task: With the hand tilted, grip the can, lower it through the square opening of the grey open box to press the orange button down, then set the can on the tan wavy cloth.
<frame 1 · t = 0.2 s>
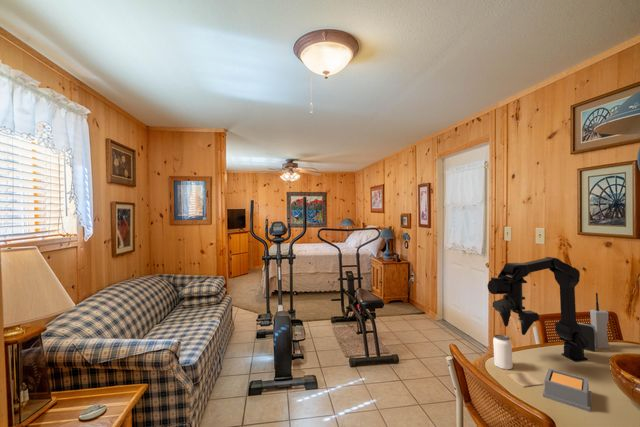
hand: (514, 330, 121), 14 cm above the table, tool pointing down, fingers open, 9 cm apart
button: (566, 384, 99), point 4 cm above the table, slide at 0.0 cm
battery: (586, 348, 132), on the table
vintage mobile phone: (601, 347, 133), on the table
can: (503, 366, 120), on the table
tan wavy cloth: (524, 379, 109), on the table
grey open box: (567, 395, 99), on the table
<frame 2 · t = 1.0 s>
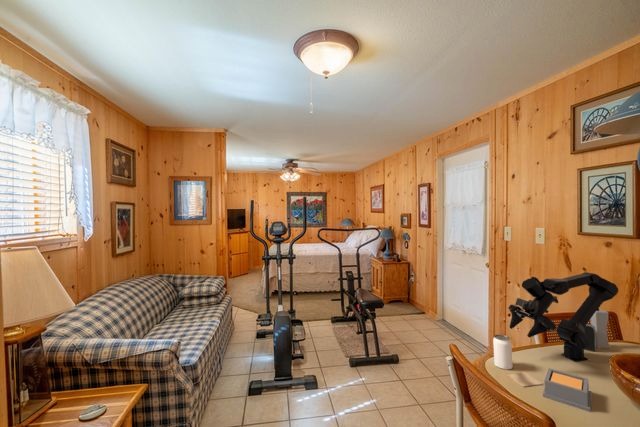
hand: (518, 332, 121), 13 cm above the table, tool tilted 45°, fingers open, 9 cm apart
nothing on the table moved.
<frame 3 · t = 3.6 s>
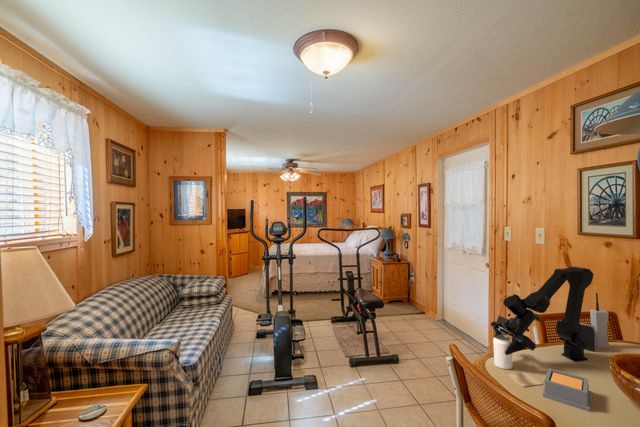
hand: (499, 350, 120), 7 cm above the table, tool tilted 45°, fingers closed on can, 6 cm apart
can: (503, 366, 120), on the table, touching gripper
everything else where it was.
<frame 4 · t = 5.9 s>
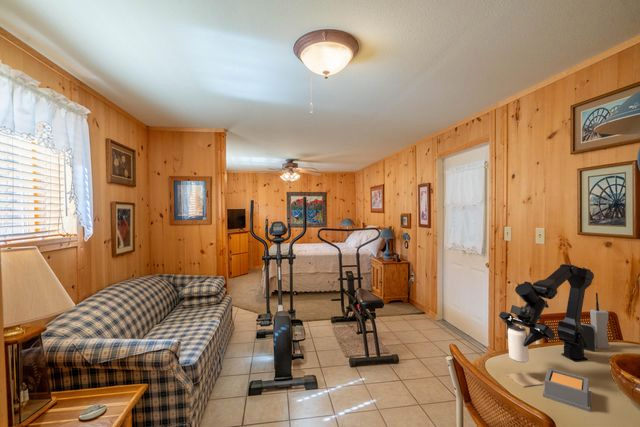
hand: (515, 342, 112), 13 cm above the table, tool tilted 45°, fingers closed on can, 6 cm apart
can: (518, 359, 112), point 6 cm above the table, touching gripper
everything else where it was.
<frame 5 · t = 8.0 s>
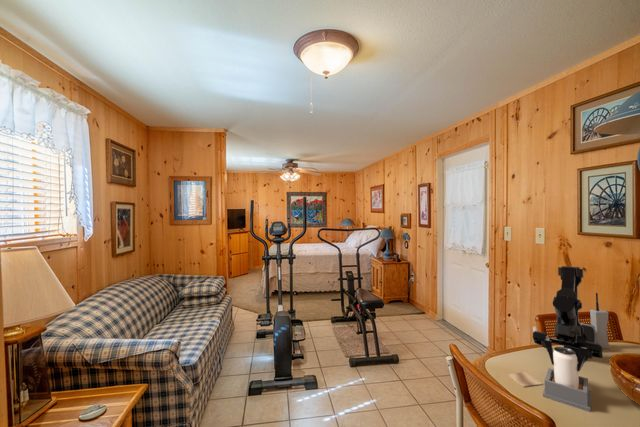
hand: (565, 367, 99), 10 cm above the table, tool tilted 45°, fingers closed on can, 6 cm apart
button: (566, 388, 99), point 2 cm above the table, slide at 1.5 cm, touching can
can: (566, 385, 100), point 3 cm above the table, touching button, gripper
everything else where it was.
when the fingers open (8 cm above the table, at t = 11.5 s): can stays where it is, resting on tan wavy cloth.
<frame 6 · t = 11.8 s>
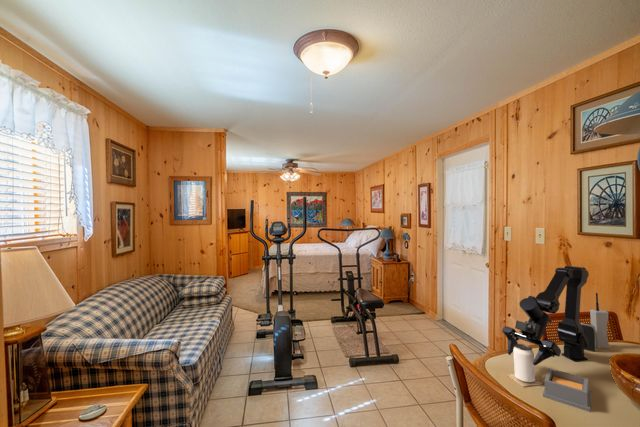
hand: (520, 359, 109), 8 cm above the table, tool tilted 45°, fingers open, 9 cm apart
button: (566, 388, 99), point 2 cm above the table, slide at 1.5 cm
can: (525, 379, 109), resting on tan wavy cloth
everything else where it was.
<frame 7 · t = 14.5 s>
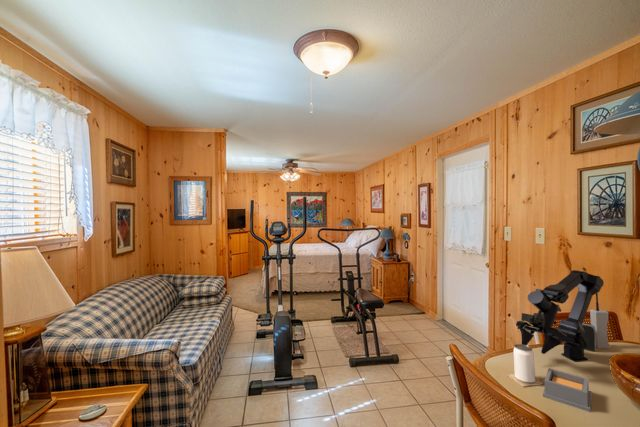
hand: (532, 349, 115), 9 cm above the table, tool tilted 40°, fingers open, 9 cm apart
nothing on the table moved.
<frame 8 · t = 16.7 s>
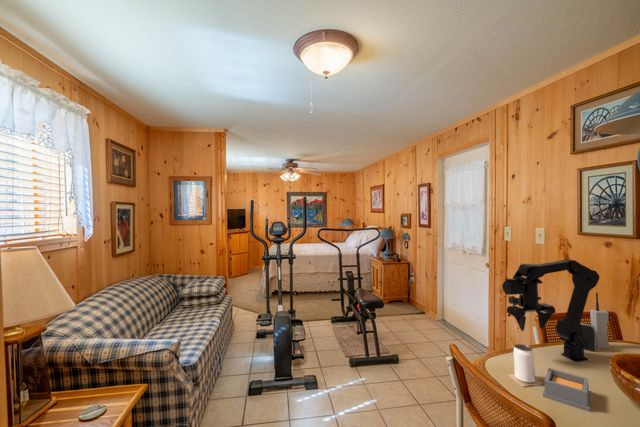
hand: (531, 329, 124), 13 cm above the table, tool pointing down, fingers open, 9 cm apart
nothing on the table moved.
at the end: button slide at 1.5 cm; can 0.3 cm from the target spot, resting on tan wavy cloth; can tilted 0° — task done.
